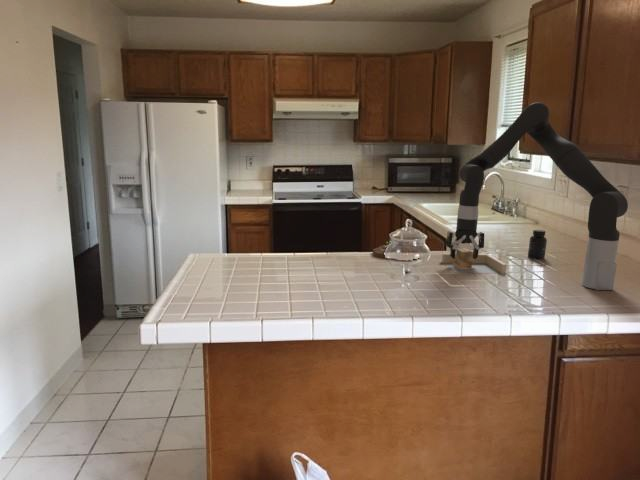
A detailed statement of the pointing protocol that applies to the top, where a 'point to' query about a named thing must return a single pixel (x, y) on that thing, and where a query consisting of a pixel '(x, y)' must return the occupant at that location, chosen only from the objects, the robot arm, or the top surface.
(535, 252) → the supplement bottle
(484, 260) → the tray
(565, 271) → the top surface
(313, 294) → the top surface
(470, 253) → the oak block
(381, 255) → the brown rough-edged lump
